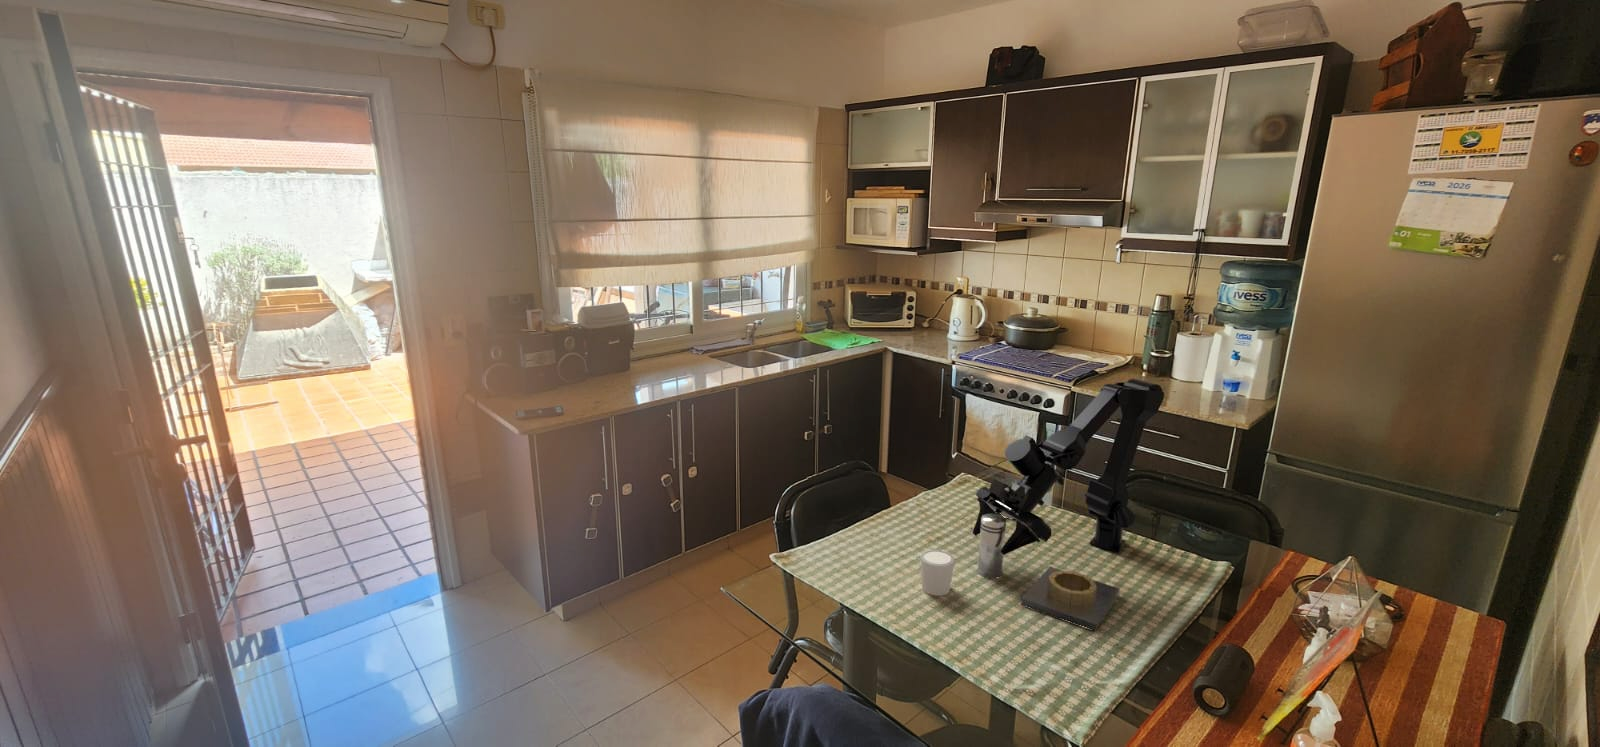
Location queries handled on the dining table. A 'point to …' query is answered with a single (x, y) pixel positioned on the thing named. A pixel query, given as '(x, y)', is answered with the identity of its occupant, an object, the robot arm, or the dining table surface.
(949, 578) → the white cylinder
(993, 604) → the dining table surface
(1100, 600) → the tube holder stand
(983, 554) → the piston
